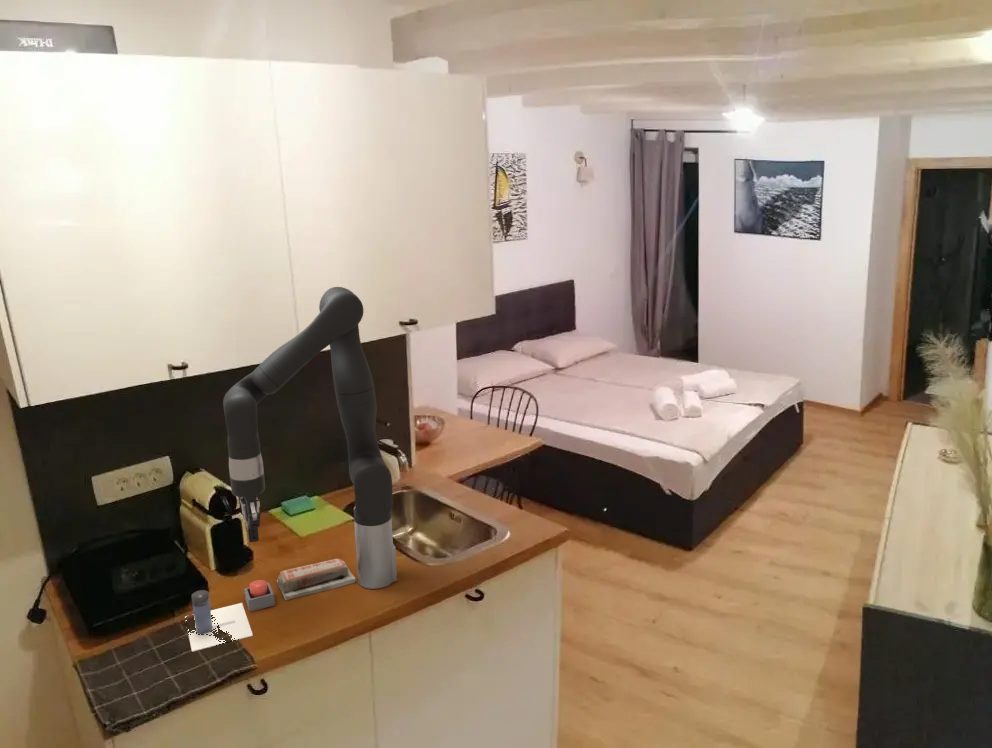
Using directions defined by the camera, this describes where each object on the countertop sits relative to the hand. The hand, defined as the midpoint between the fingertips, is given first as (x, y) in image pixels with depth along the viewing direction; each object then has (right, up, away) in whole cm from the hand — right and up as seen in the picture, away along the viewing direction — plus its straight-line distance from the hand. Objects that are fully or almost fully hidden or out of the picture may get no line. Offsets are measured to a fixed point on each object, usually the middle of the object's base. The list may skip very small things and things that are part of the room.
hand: (253, 540), depth 186 cm
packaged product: (+12, -14, +13) cm, 23 cm away
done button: (0, -14, +4) cm, 15 cm away
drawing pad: (-7, -19, -5) cm, 21 cm away
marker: (-9, -19, -7) cm, 22 cm away
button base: (0, -16, +4) cm, 17 cm away
